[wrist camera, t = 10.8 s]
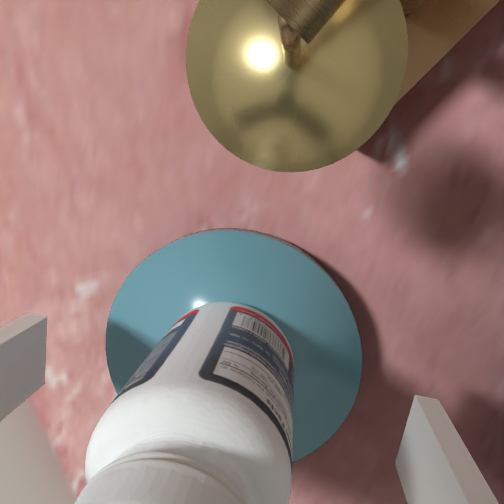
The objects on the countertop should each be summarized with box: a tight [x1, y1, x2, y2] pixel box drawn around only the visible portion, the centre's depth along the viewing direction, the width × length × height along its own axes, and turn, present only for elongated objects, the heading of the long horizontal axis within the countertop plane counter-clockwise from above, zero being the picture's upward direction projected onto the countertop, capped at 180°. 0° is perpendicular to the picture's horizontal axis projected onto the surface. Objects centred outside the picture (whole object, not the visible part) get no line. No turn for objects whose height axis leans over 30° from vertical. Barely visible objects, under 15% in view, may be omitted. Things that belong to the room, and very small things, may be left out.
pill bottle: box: [74, 302, 294, 504], centre depth 11 cm, size 5×5×9 cm
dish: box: [106, 228, 362, 462], centre depth 16 cm, size 10×10×1 cm
